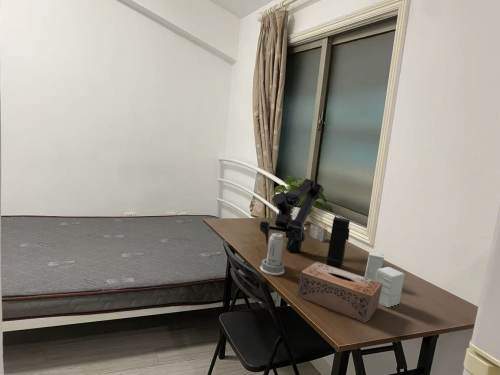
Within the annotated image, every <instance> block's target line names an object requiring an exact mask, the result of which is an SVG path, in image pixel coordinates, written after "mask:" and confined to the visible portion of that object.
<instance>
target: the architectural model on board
mask: <svg viewBox="0 0 500 375" xmlns="http://www.w3.org/2000/svg"><path fill="white" fill-rule="evenodd" d="M328 227H329V226H328V225H326V224H324V226H320V225H318V224H315V223H310V227H309V234H308V235H309V237H311V238H313V239H315V240H318V241H320V242H322V243H323V242H324V243H325V242H326V240H327V236H328V235H327V234H328V229H327V228H328Z"/></svg>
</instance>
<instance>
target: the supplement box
mask: <svg viewBox="0 0 500 375" xmlns="http://www.w3.org/2000/svg"><path fill="white" fill-rule="evenodd" d="M405 275H406V274H405V273H403V272H401V271H399V270H397V269H394V268H392V267H390V266H385V267H382V268H380V269H377V273H376V279H375V281H378V282H381V283H382V288H381V293H380V298H379V303H380V304H379V305H381V304H382V305H381V306H383V305H384V306H386V307H389V308H391V306H393V307H395V306H394V305H396V306H398V305H397V304H399V305H400V302H401V295H402V291H403V286H404V280H405V277H406V276H405ZM384 306H383V307H384ZM386 307H385V308H386Z"/></svg>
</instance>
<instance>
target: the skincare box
mask: <svg viewBox="0 0 500 375" xmlns="http://www.w3.org/2000/svg"><path fill="white" fill-rule="evenodd" d="M384 260H385V256H384V254H382V253H377V252H372V251H369V253H368V258H367V262H366V268H365V273H364V277H366V278H369V279H372V280H375V279H376V273H377V269H380V268H383V265H384Z"/></svg>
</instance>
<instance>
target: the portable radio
mask: <svg viewBox="0 0 500 375" xmlns="http://www.w3.org/2000/svg"><path fill="white" fill-rule="evenodd" d="M350 221H351V220H350V219H347V218H344V217H343V218H342V217H338V216H337V215H335V216H334V218H333V220H332V227H331V233H330V239H329V244H328V252H327V257H326V264H325V265H328V266H331V267H334V268H338V269H341V268H342V267H343V264H344V257H345V251H346V246H347V242H348V241H349V238H350V230H351V229H350V228H349V227H350Z"/></svg>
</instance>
